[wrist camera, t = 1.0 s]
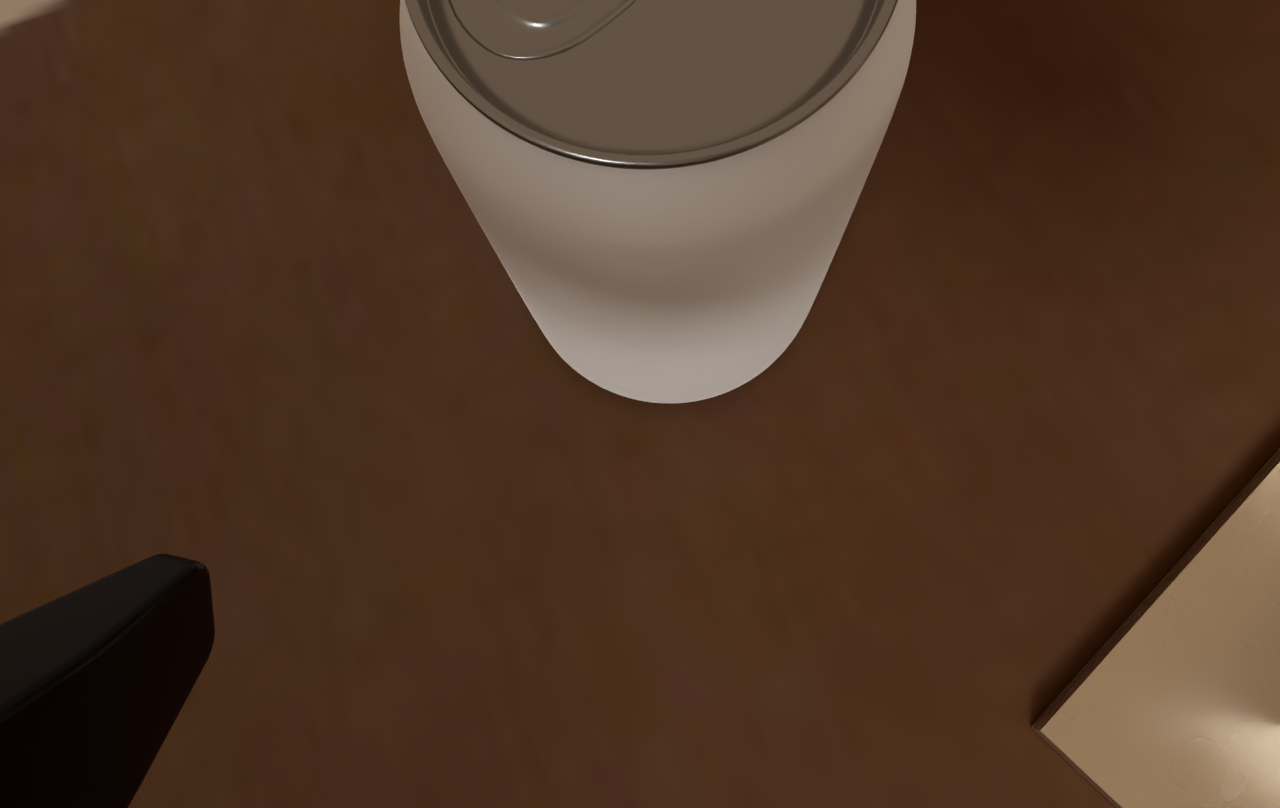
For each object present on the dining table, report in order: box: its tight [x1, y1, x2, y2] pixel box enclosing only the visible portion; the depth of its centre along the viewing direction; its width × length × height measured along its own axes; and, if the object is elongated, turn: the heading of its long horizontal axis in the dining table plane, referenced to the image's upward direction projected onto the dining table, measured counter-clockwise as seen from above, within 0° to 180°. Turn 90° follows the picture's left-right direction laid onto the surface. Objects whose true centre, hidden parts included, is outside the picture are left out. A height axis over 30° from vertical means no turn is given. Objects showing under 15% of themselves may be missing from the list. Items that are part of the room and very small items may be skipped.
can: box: [400, 0, 916, 403], centre depth 17 cm, size 6×6×12 cm
